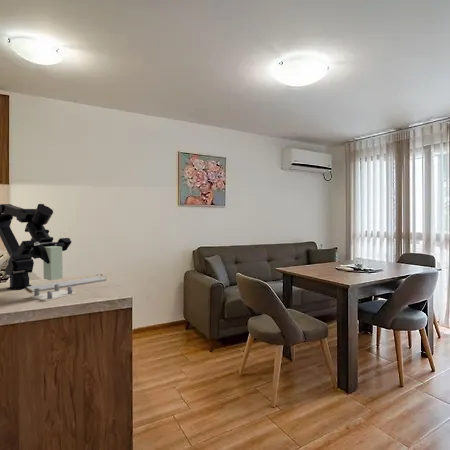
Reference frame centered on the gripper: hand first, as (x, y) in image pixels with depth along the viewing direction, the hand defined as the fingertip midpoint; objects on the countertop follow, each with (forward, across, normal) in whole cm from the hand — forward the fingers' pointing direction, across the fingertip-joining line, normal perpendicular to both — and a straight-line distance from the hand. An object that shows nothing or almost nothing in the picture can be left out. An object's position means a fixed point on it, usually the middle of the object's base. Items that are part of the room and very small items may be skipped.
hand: (55, 262), depth 118 cm
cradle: (+8, 0, -10) cm, 13 cm away
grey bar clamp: (-1, -15, -21) cm, 26 cm away
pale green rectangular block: (+4, 0, -6) cm, 7 cm away
